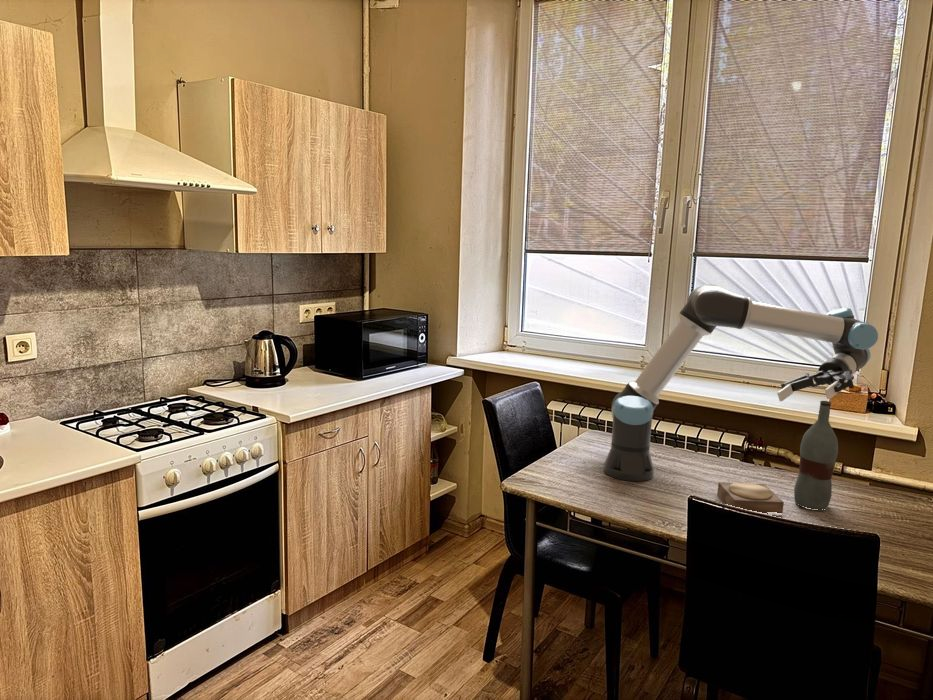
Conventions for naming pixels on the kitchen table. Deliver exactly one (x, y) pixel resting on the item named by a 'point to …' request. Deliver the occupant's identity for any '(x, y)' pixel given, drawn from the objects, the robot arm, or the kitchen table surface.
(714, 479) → the kitchen table surface
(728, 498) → the soap dish
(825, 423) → the vodka
